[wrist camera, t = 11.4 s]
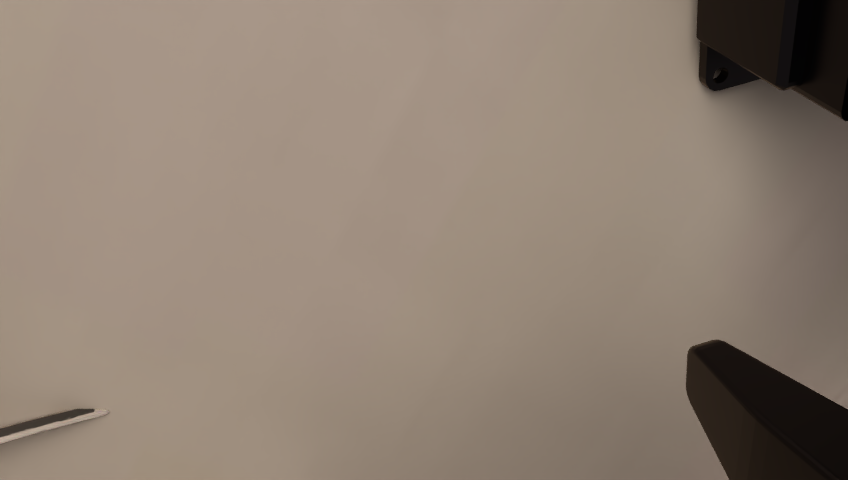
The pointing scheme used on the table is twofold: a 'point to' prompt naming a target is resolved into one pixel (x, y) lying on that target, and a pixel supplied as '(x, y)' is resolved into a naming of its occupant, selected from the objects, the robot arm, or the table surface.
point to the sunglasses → (47, 423)
